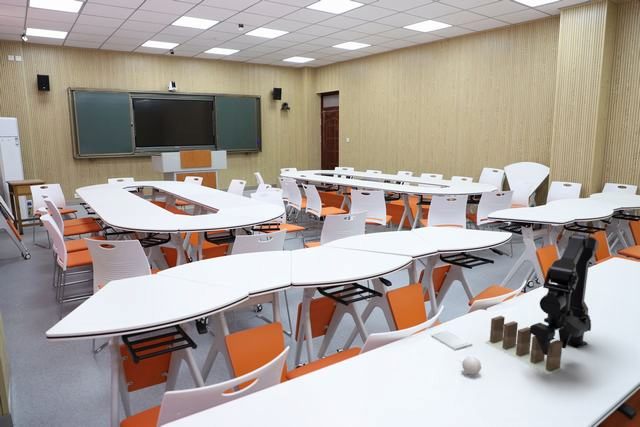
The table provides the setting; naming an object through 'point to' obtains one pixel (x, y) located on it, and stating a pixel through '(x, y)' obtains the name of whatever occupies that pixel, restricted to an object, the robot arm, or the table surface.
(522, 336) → the domino
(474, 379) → the table surface
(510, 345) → the domino
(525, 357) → the mat
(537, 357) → the domino
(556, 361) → the domino
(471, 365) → the white sphere
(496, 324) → the domino
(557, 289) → the robot arm
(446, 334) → the hard drive
